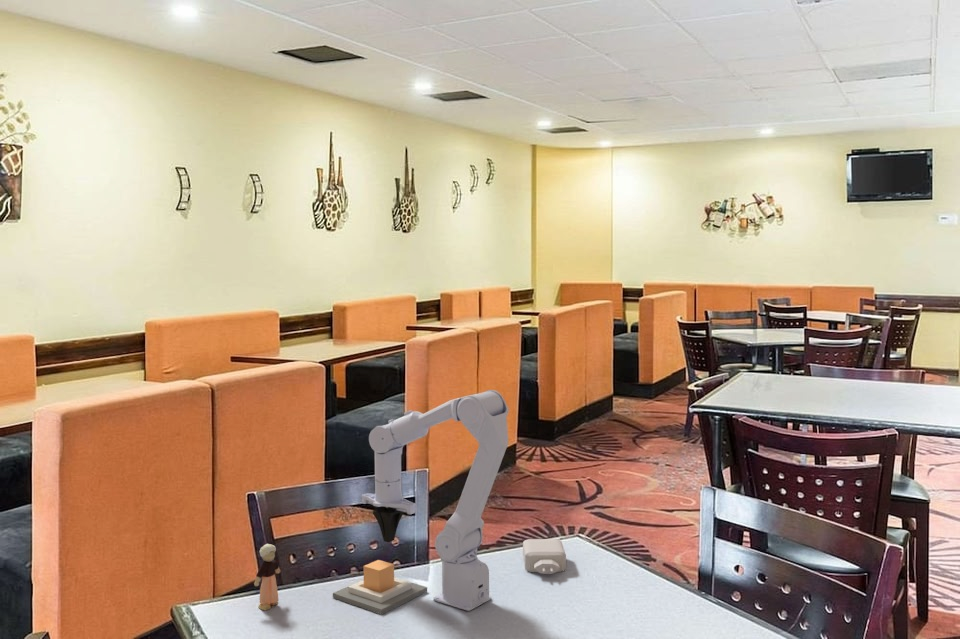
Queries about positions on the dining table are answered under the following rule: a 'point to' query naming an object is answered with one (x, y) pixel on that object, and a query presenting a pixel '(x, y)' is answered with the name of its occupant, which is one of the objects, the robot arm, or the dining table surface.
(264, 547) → the grandmother figurine
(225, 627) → the dining table surface
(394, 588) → the socket plate
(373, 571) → the block
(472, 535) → the robot arm
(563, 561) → the charger
